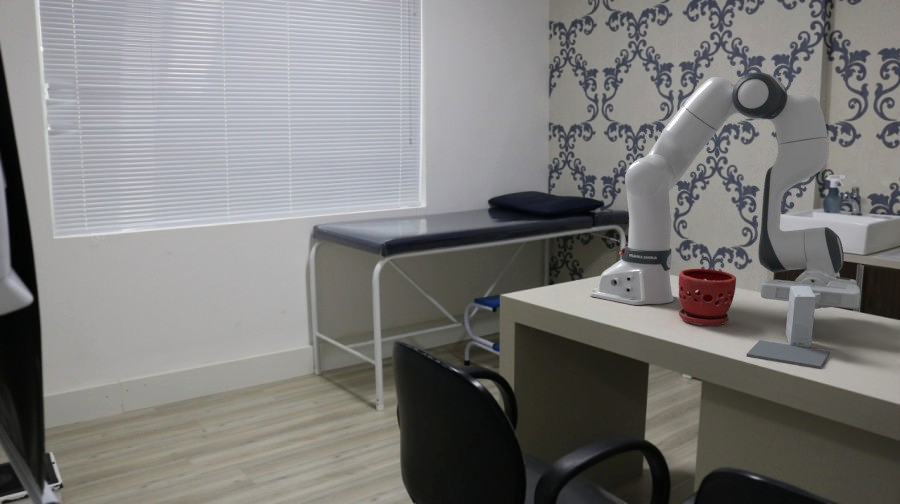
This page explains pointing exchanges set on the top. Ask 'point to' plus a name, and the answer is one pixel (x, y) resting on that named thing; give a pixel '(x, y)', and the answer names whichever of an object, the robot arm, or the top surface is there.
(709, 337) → the top surface
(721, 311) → the plant pot
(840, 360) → the top surface
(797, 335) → the skincare box
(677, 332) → the top surface
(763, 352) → the slate mat
